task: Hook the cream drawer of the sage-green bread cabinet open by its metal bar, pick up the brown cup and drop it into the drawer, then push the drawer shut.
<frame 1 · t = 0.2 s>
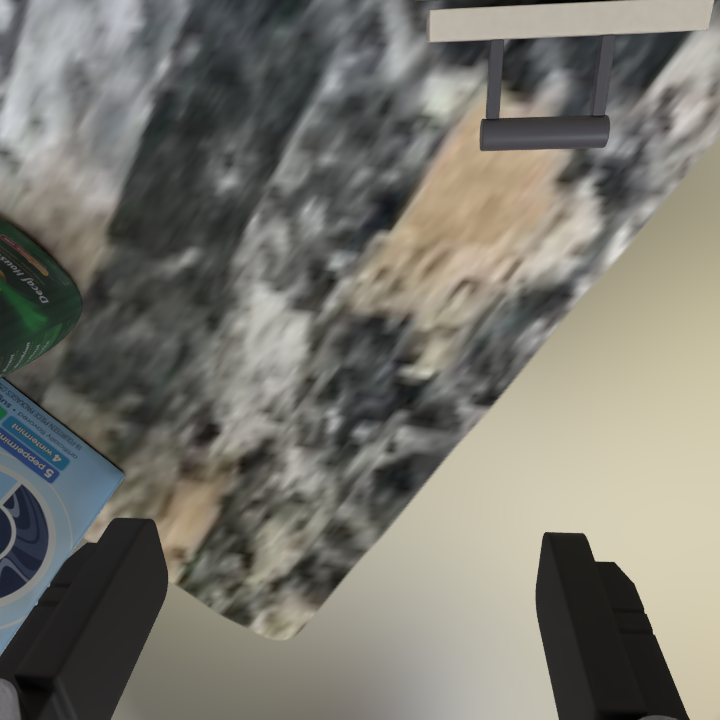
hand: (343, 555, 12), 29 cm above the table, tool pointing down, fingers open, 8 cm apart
coffee jar: (20, 279, 42), on the table
gum box: (14, 410, 48), on the table
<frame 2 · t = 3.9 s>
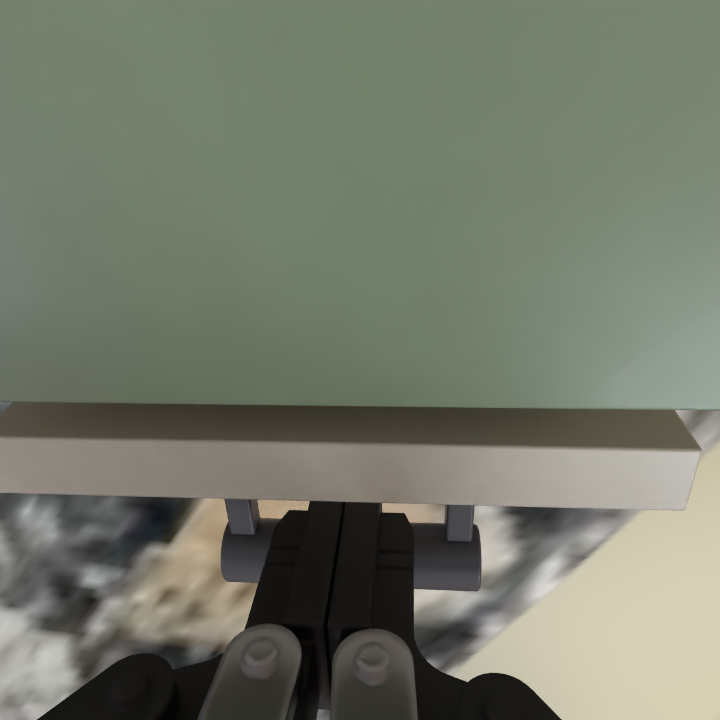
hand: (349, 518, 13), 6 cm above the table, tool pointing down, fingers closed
drawer: (336, 185, 11), point 5 cm above the table, slide at 1.3 cm, touching gripper
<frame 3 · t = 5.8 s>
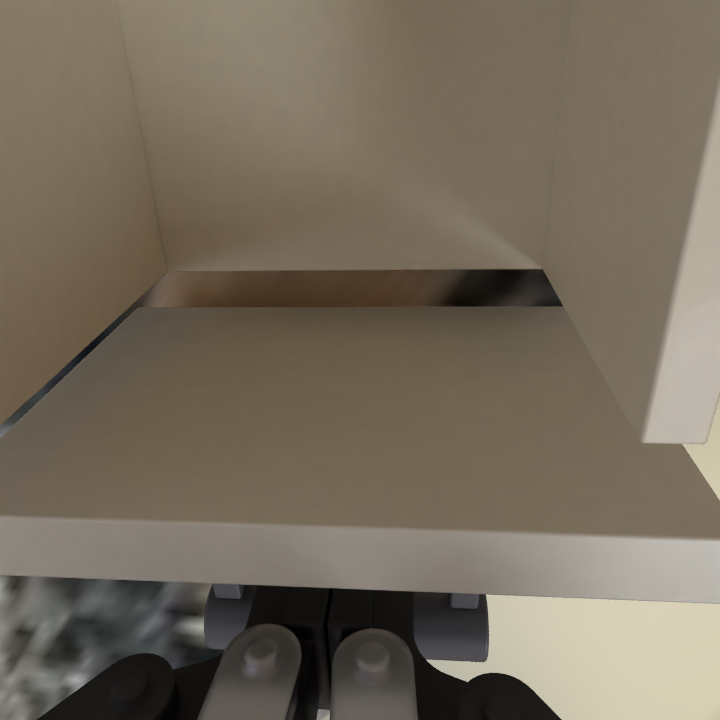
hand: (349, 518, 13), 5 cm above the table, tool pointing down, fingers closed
drawer: (329, 226, 10), point 5 cm above the table, slide at 9.3 cm
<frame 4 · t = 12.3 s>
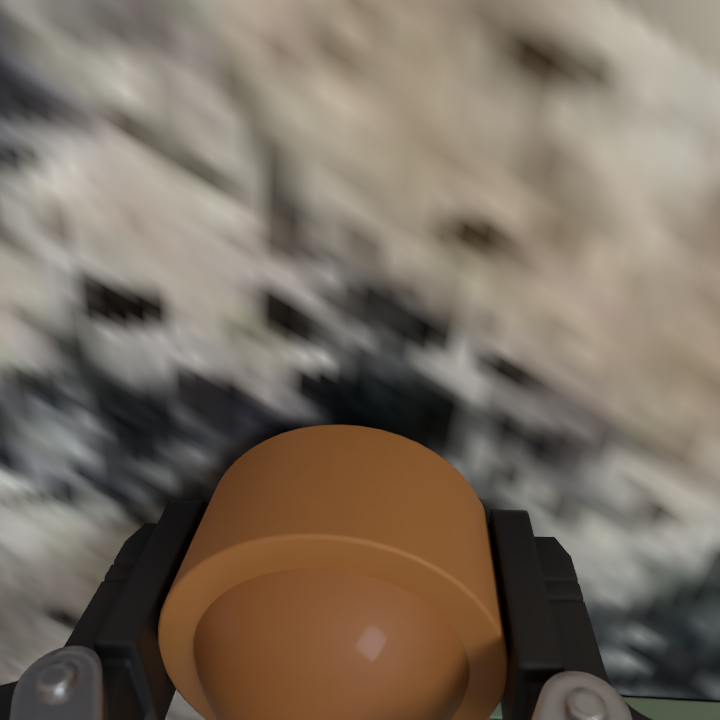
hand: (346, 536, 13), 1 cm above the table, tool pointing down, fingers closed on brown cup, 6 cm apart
brown cup: (347, 539, 13), point 1 cm above the table, touching gripper
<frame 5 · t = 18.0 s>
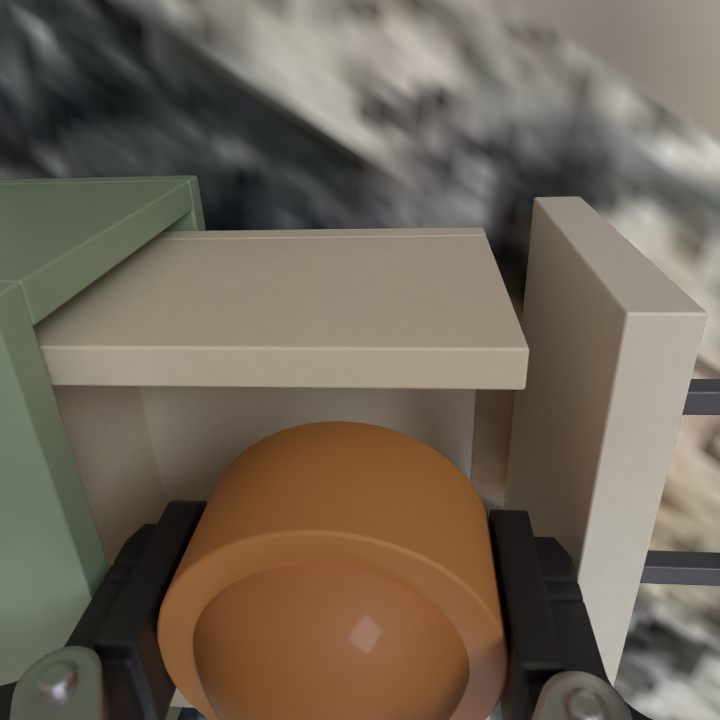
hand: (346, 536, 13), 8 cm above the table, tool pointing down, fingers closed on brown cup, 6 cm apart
cabinet: (21, 366, 21), on the table
brown cup: (347, 537, 13), point 8 cm above the table, touching gripper
drawer: (415, 458, 15), point 5 cm above the table, slide at 9.3 cm
when the fingers open (10 cm above the table, at t = 36.3 s): brown cup drops 8 cm, resting on drawer.
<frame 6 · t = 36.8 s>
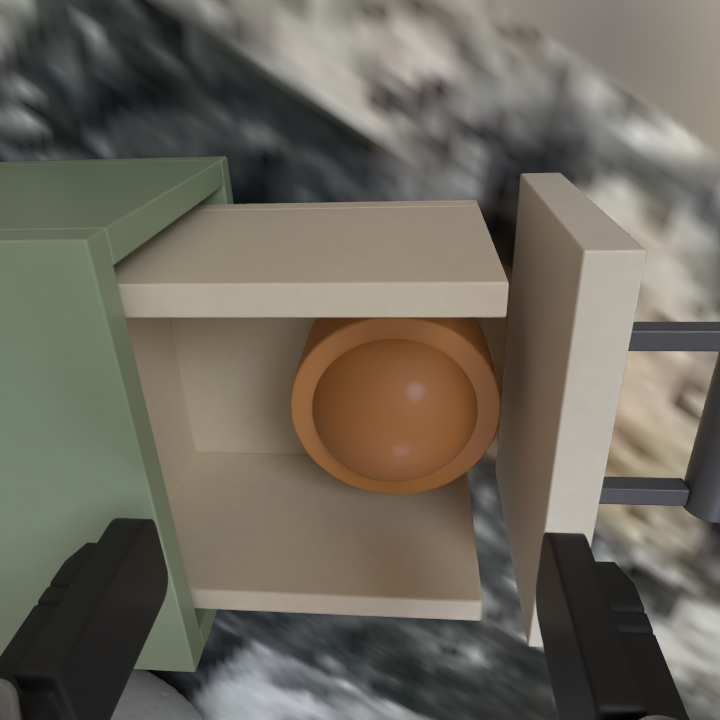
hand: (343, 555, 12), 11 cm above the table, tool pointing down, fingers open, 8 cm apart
cabinet: (66, 329, 23), on the table
brown cup: (395, 363, 20), point 3 cm above the table, touching drawer
cereal bowl: (107, 692, 34), on the table
drawer: (418, 398, 18), point 5 cm above the table, slide at 9.3 cm, touching brown cup
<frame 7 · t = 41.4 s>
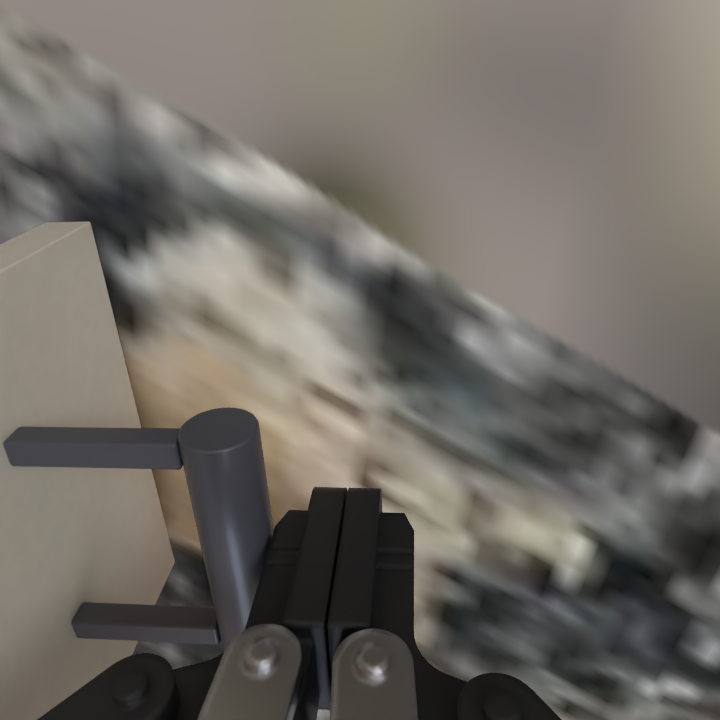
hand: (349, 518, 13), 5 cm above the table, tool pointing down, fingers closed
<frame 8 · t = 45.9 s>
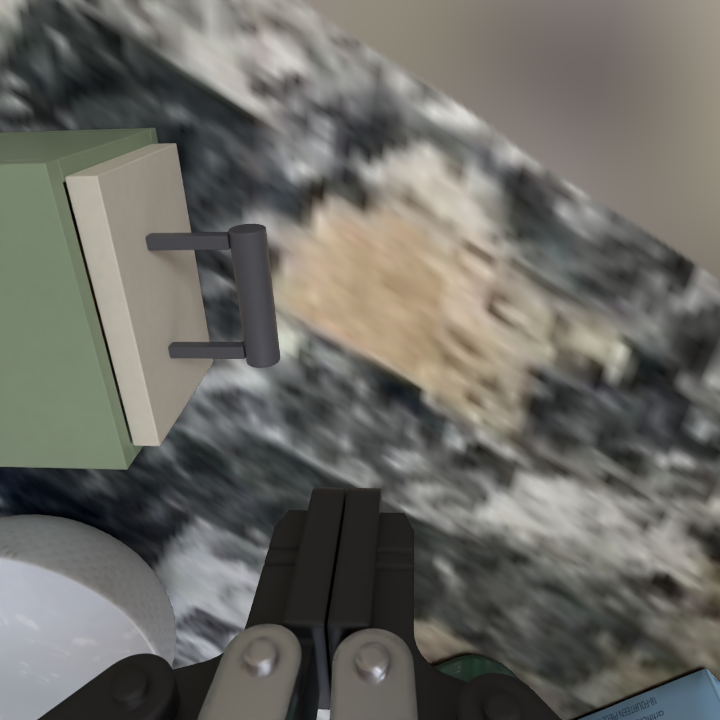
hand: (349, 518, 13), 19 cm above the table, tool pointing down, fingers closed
cabinet: (46, 258, 32), on the table
coffee jar: (459, 685, 46), on the table
brown cup: (83, 274, 29), point 3 cm above the table, touching drawer
cereal bowl: (84, 567, 43), on the table
drawer: (77, 290, 27), point 5 cm above the table, slide at 0.0 cm, touching brown cup
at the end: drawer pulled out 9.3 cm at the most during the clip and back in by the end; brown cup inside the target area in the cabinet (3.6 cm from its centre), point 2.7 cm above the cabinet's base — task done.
